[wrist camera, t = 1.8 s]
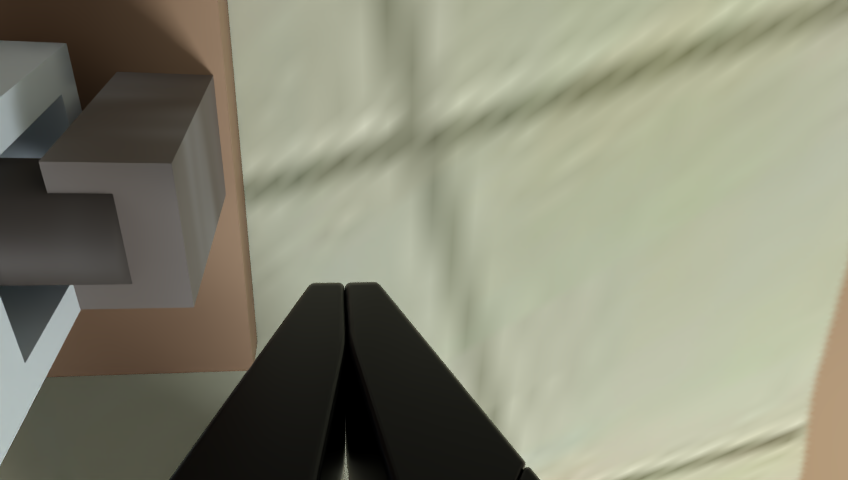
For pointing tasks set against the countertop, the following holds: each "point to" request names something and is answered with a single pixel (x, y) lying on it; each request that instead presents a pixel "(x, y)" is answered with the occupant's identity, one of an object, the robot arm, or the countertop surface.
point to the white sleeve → (40, 304)
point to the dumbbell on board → (137, 190)
